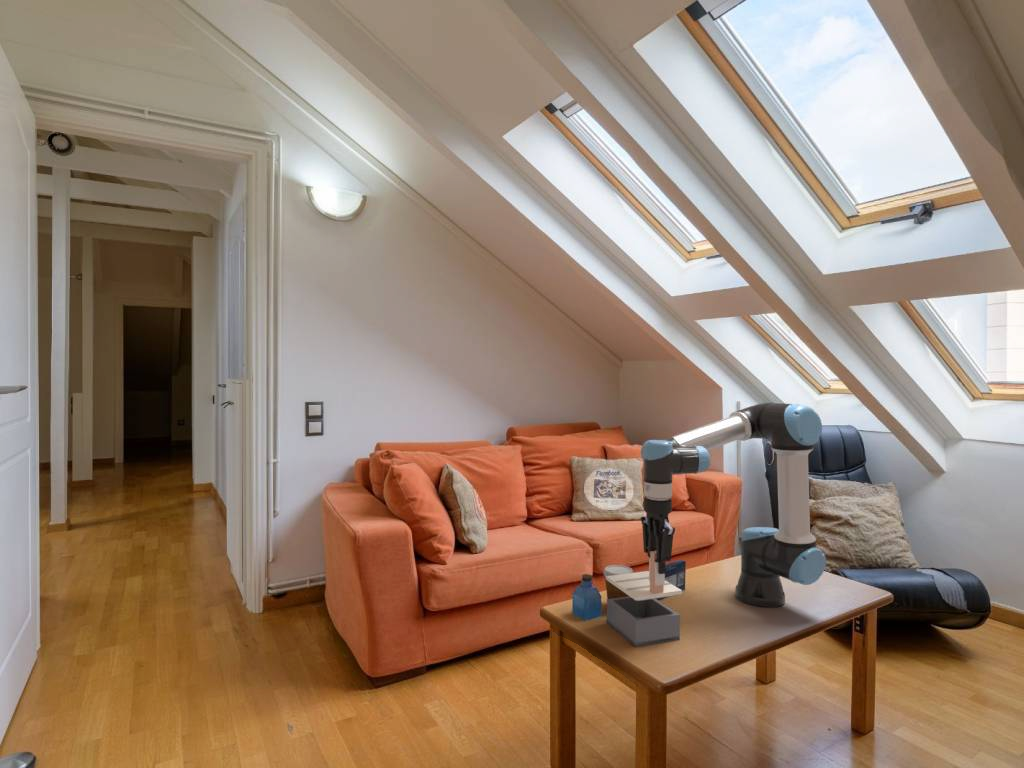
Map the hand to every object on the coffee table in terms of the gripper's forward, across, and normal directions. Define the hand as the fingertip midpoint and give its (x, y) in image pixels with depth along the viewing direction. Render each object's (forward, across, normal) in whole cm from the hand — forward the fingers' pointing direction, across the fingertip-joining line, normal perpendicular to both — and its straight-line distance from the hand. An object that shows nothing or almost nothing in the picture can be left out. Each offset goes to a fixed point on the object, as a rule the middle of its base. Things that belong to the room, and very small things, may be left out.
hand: (656, 582), depth 160 cm
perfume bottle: (+17, -22, -10) cm, 29 cm away
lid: (+3, -7, 0) cm, 8 cm away
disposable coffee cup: (+17, -24, +2) cm, 29 cm away
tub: (+16, -7, 0) cm, 18 cm away
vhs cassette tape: (+17, -28, +22) cm, 39 cm away
